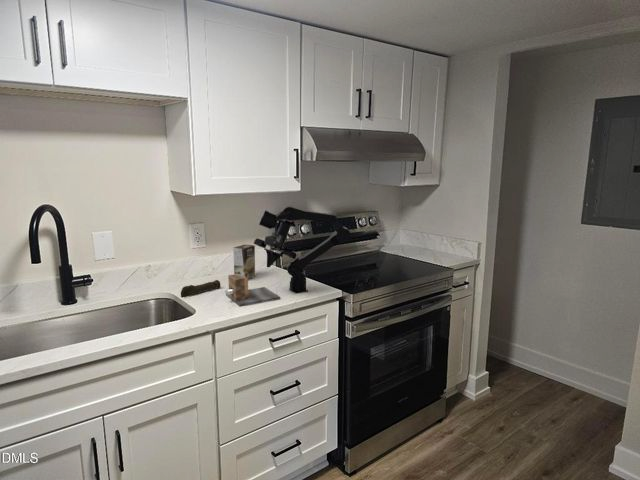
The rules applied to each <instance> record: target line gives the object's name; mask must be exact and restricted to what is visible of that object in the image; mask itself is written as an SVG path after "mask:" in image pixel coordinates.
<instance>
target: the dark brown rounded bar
mask: <svg viewBox="0 0 640 480" xmlns="http://www.w3.org/2000/svg"><path fill="white" fill-rule="evenodd" d="M215 289H221V281H220V280H218V279H215V280H213V281H209V282H205V283H203V284H197V285H193V284H191V285H185V286H183V287H182V288H181V291H180V297H181V298H187V297H192V296H195V295H196V294H199V293H200V294H201V293H203V292H206V291H207V292H208V291H211V290H215Z"/></svg>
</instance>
